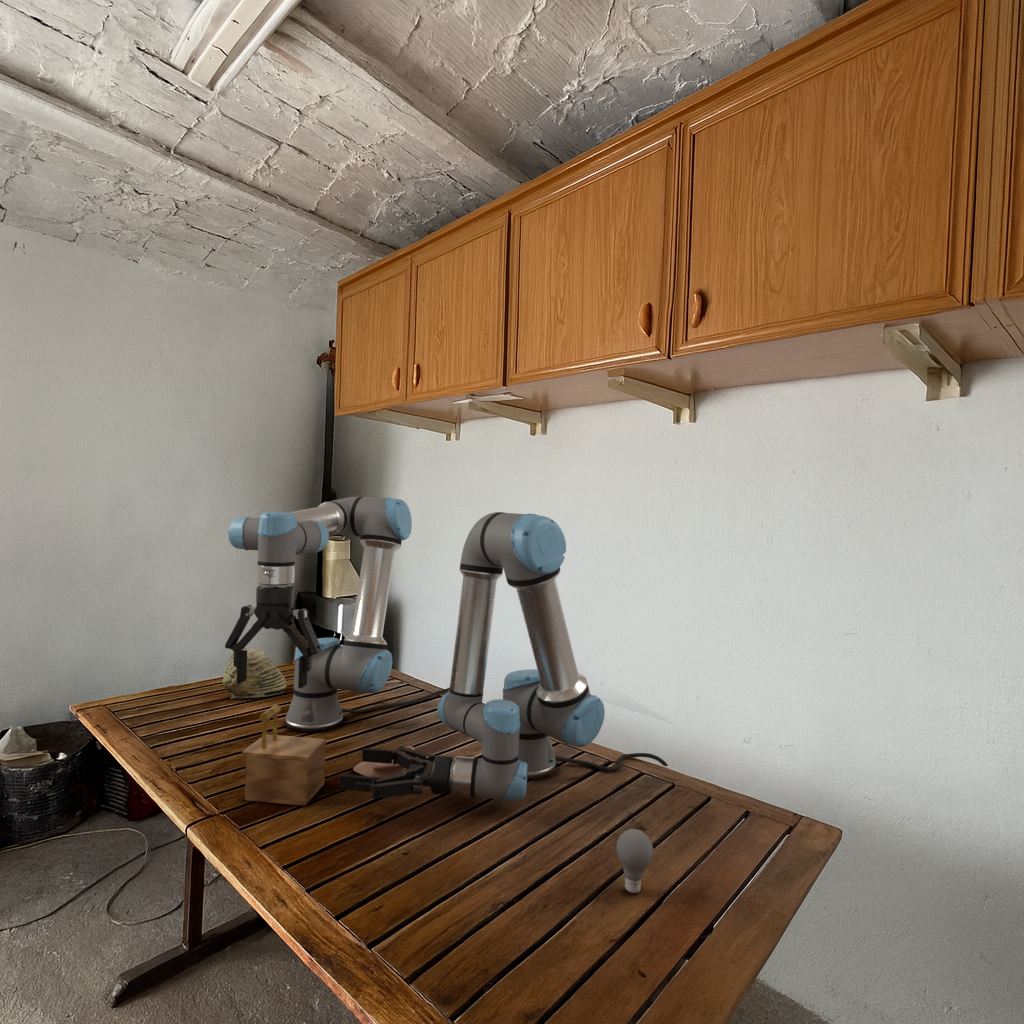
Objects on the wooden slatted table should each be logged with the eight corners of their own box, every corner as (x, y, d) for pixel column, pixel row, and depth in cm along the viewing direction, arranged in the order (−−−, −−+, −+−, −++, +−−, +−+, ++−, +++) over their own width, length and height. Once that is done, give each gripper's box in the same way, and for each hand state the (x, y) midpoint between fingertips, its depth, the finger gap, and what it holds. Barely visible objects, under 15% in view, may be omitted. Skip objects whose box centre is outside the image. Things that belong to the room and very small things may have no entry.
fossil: (218, 695, 195) (220, 647, 195) (278, 685, 208) (279, 640, 207) (228, 703, 189) (230, 653, 188) (289, 692, 201) (290, 645, 201)
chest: (244, 800, 131) (246, 756, 131) (267, 779, 141) (269, 738, 141) (305, 805, 130) (306, 761, 129) (324, 784, 140) (325, 743, 139)
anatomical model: (347, 757, 144) (369, 739, 156) (347, 774, 144) (368, 755, 156) (402, 764, 142) (420, 745, 153) (402, 782, 142) (419, 762, 153)
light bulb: (610, 879, 108) (613, 822, 108) (644, 879, 109) (647, 822, 109) (619, 902, 102) (622, 840, 102) (655, 901, 103) (658, 840, 103)
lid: (241, 756, 131) (243, 715, 131) (265, 737, 141) (266, 700, 141) (306, 761, 129) (308, 720, 129) (325, 742, 139) (327, 704, 139)
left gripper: (209, 583, 132) (206, 684, 133) (325, 590, 130) (321, 693, 130) (229, 579, 140) (225, 675, 140) (338, 585, 137) (335, 683, 138)
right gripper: (440, 824, 119) (330, 814, 120) (461, 768, 144) (370, 761, 145) (441, 784, 119) (331, 775, 120) (463, 735, 143) (371, 728, 145)
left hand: (271, 684), depth 135 cm, fingers open, 13 cm apart
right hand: (352, 767), depth 133 cm, fingers open, 13 cm apart
